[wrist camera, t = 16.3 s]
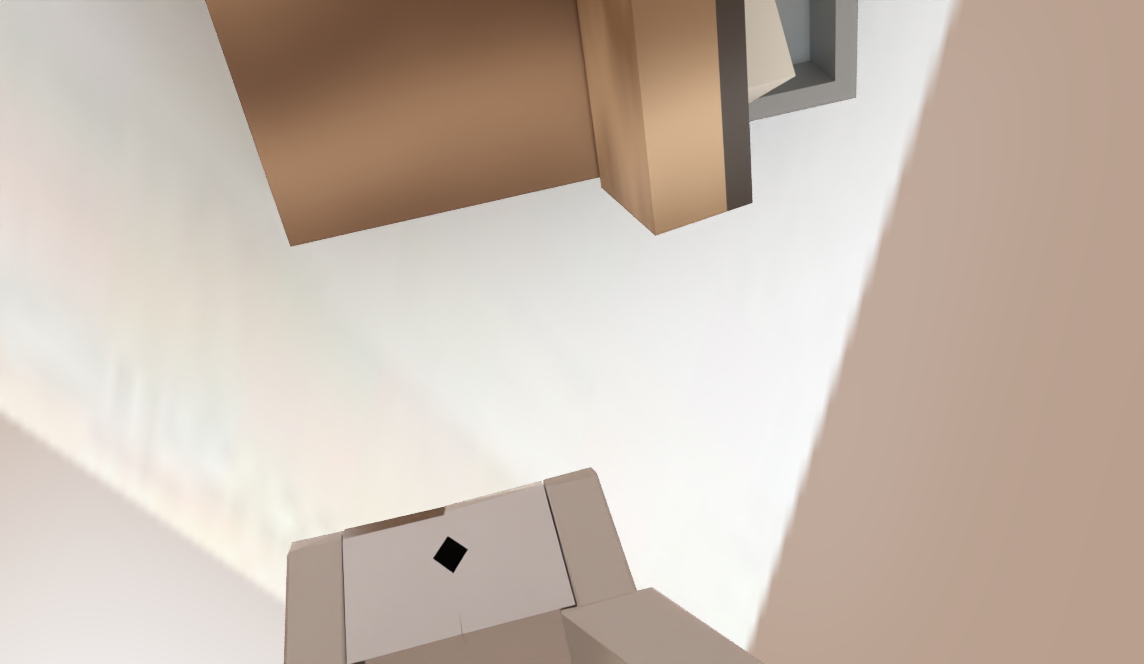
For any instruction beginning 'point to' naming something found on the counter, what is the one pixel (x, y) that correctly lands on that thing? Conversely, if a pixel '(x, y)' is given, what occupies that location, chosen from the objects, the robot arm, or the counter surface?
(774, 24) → the tile
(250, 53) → the board
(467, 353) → the counter surface
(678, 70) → the tan wooden bar
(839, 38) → the tray
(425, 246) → the counter surface
